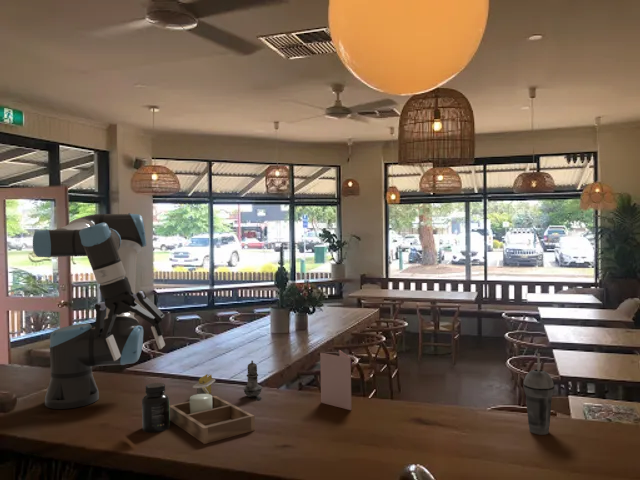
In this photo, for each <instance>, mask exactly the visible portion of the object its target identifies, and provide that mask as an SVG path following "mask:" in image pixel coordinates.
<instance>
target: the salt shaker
mask: <svg viewBox="0 0 640 480" xmlns="http://www.w3.org/2000/svg"><path fill="white" fill-rule="evenodd" d="M246 377H247V383H246V385H244V386H243V387H242V390H243V392H244V394H245V395H246V396H247V397H248V398H249V399H252V400H255V401H257V402H259V401H261V400H262V397H261V396H260V394H261V392H262V389H263V386H262V385H260V384H259V382H258V377H259V374H258V366H257V364H256V363H254V360H251V362H250V363H249V364H247V374H246Z"/></svg>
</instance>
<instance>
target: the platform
mask: <svg viewBox="0 0 640 480" xmlns="http://www.w3.org/2000/svg"><path fill="white" fill-rule="evenodd" d="M212 376H213V375H212V374H205V375H204V376H202V377H200V378H199V379H198V382H197V383H196V384H194V385H192V388H193V389H196V394H210V395H211V394H212V384H213V383H214V382H216V379H215V378H213V377H212Z"/></svg>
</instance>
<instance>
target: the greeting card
mask: <svg viewBox="0 0 640 480" xmlns="http://www.w3.org/2000/svg"><path fill="white" fill-rule="evenodd" d="M338 351H339V354H338V355H337V354H330V353H325V352H319V355H320V359H319V360H320V362H319V363H320V402H321V404H326V405H328V406H329V405H330V406H332V407H333V406H334V407H336V408H337V407H338V408H342V409H345V410H348V411H352V365H353V361H352V360H351V357H350V356H348V355H347V354H346V353H345V352H343V351H342V350H340V349H339V350H338Z"/></svg>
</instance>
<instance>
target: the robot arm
mask: <svg viewBox="0 0 640 480" xmlns="http://www.w3.org/2000/svg"><path fill="white" fill-rule="evenodd" d="M144 247H147V237H146V229H145V224H144V218H143V216H142V215H141V214H140V213H138V214H137V213H130V212H129V213H95V214H89V215H86V216H82V217H77V218H76V219H72V220H71V221H70V222H69V223H68V224H67V225H65V226H62V227H59V228H56V229H44V230H43V229H42V230H41V229H40V230H36V231H35V232H34V233H33V236H32V250H33V252H34V255H35V256H36V257H38V258H60V257H61V258H63V257H87V259H88V262H89V264H90V267H91V270H92V272H93V274H94V277H95V280H96V283H97V284H98V285H99V287H98V288H99V289H98V290H99V291H100V294H101V296H102V298H103V299H104V301H101V300H100V301H99V302H97V303H95V305H94V309H95V324H94V325H95V327H93V326H92V325H91V323H89V322H87V323H77V324H72V325H67V326H64V327H60V328H57V329H55V330H53V331H52V332H51V334H50V335H49V336H50V337H49V357H50V358H49V359H50V363H49V364H50V381H49V384H48V387H47V390H46V394H45V396H44V406H45V407H46V408H49V409H54V410H64V409H75V408H81V407H85V406H88V405H91V404H93V403H95V402H97V401H99V398H100V391H99V388H98V385H97V384H96V380H95V378H94V374H93V367H99V366H100V367H103V366H104V367H105V366H106V367H107V366H120V365H121V366H125V365H129V364H135V363H136V362H138V361H139V359H140V358H141V357H140V356H141V353H142V349H143V343H144V327H143V326H142V325H140V323H139V320H138V319H137V318H136V317H135V315H137V316H138V317H140V318H142V319H143V320H145V321H146V322H147V323H149V324H151V326H150V329H151V332H152V334H153V337H154V340H155V343H156V345H157V347H158V350H162V349H163V348H164V347H165V346H166V343H165V340H164V337H163V335H164V332H165V331H164V329H163V326H162V323H161V322H162V321H163V320H165V319H166V314H164V313H163V312H162V310H160V309H159V308H158V306H157V305H156V304H155V303H154V302H153V301H152V300H151V299H149V297H147V294H146V292H145V290H144V289H141V290H139V291H138V292H136V283H137V281H136V280H137V256H138V255H139V254H141V253H142V250H143V248H144ZM136 301H138V302H139V303H138V302H136ZM140 304H141V305H142V306H143V307H142V306H141V305H140Z"/></svg>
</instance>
